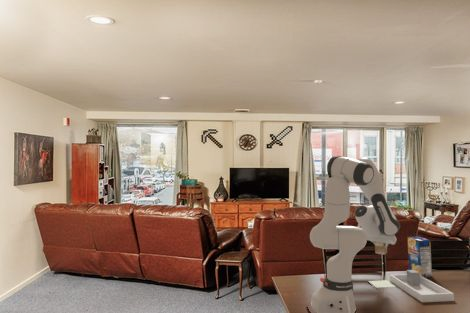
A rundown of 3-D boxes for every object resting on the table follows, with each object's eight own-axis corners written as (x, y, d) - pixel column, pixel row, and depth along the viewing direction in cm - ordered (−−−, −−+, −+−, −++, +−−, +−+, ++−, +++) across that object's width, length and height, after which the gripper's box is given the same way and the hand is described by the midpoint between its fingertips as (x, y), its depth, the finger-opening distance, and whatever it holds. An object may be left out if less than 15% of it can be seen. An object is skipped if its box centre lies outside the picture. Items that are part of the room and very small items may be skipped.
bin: (421, 304, 153) (421, 294, 154) (390, 282, 182) (389, 274, 183) (454, 302, 154) (453, 293, 154) (417, 281, 183) (417, 273, 183)
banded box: (383, 254, 176) (382, 238, 176) (375, 253, 179) (374, 236, 180) (387, 253, 179) (386, 236, 179) (379, 251, 182) (378, 235, 183)
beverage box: (421, 278, 188) (419, 240, 188) (409, 272, 198) (407, 236, 199) (432, 277, 188) (430, 240, 189) (419, 272, 199) (417, 236, 200)
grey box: (411, 285, 175) (411, 272, 175) (407, 282, 179) (406, 270, 179) (419, 285, 175) (419, 272, 175) (415, 282, 179) (414, 269, 179)
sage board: (376, 289, 173) (376, 287, 173) (368, 282, 183) (368, 281, 183) (396, 288, 174) (396, 286, 174) (387, 282, 184) (386, 280, 184)
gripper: (393, 226, 167) (402, 242, 173) (356, 222, 183) (365, 237, 189) (389, 236, 164) (398, 252, 170) (352, 231, 180) (362, 245, 186)
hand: (381, 244), depth 180 cm, fingers closed on banded box, 4 cm apart
